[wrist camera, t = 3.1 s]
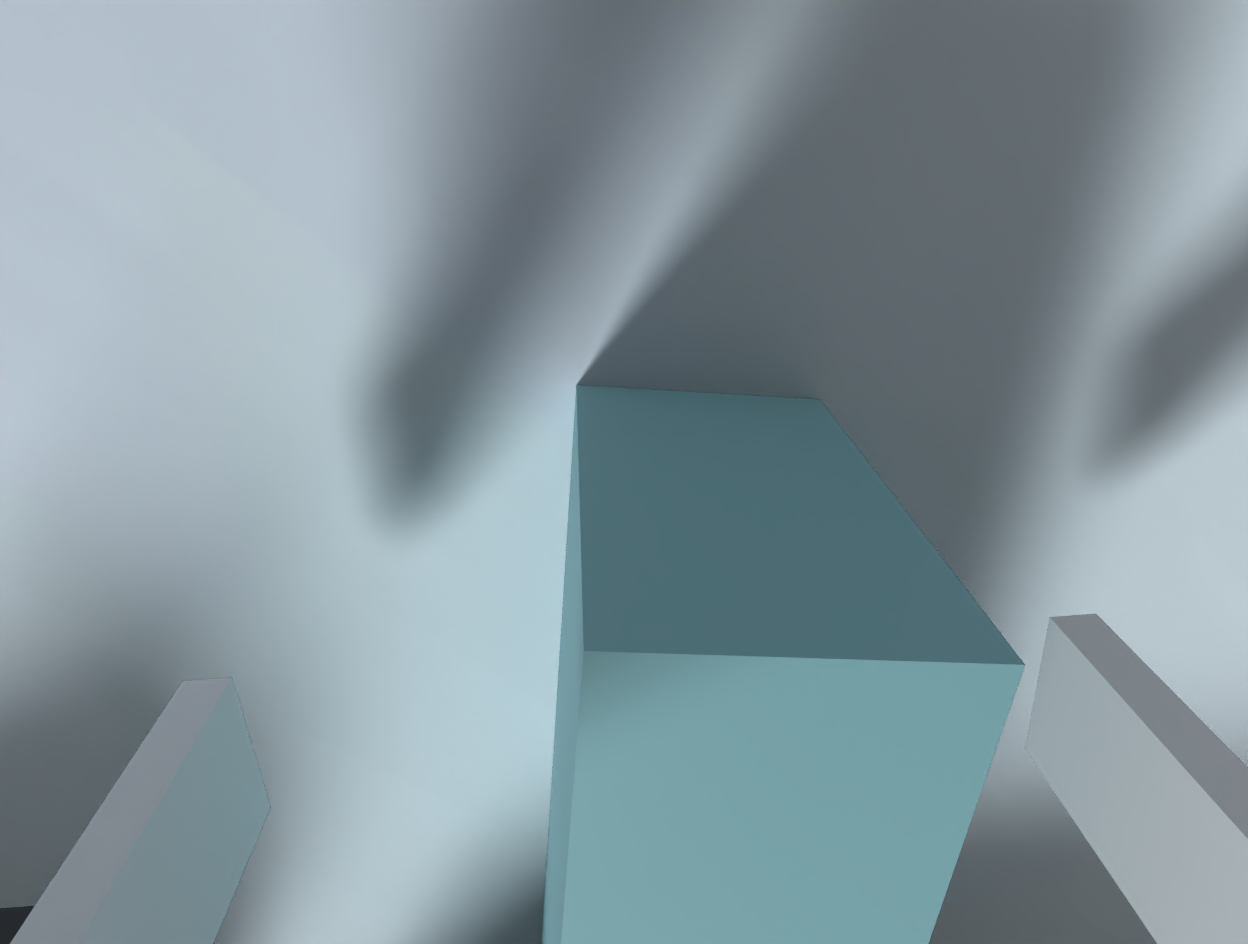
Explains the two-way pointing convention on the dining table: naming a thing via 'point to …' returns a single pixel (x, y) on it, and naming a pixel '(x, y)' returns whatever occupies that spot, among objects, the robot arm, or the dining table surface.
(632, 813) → the teal batten
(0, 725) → the dining table surface
